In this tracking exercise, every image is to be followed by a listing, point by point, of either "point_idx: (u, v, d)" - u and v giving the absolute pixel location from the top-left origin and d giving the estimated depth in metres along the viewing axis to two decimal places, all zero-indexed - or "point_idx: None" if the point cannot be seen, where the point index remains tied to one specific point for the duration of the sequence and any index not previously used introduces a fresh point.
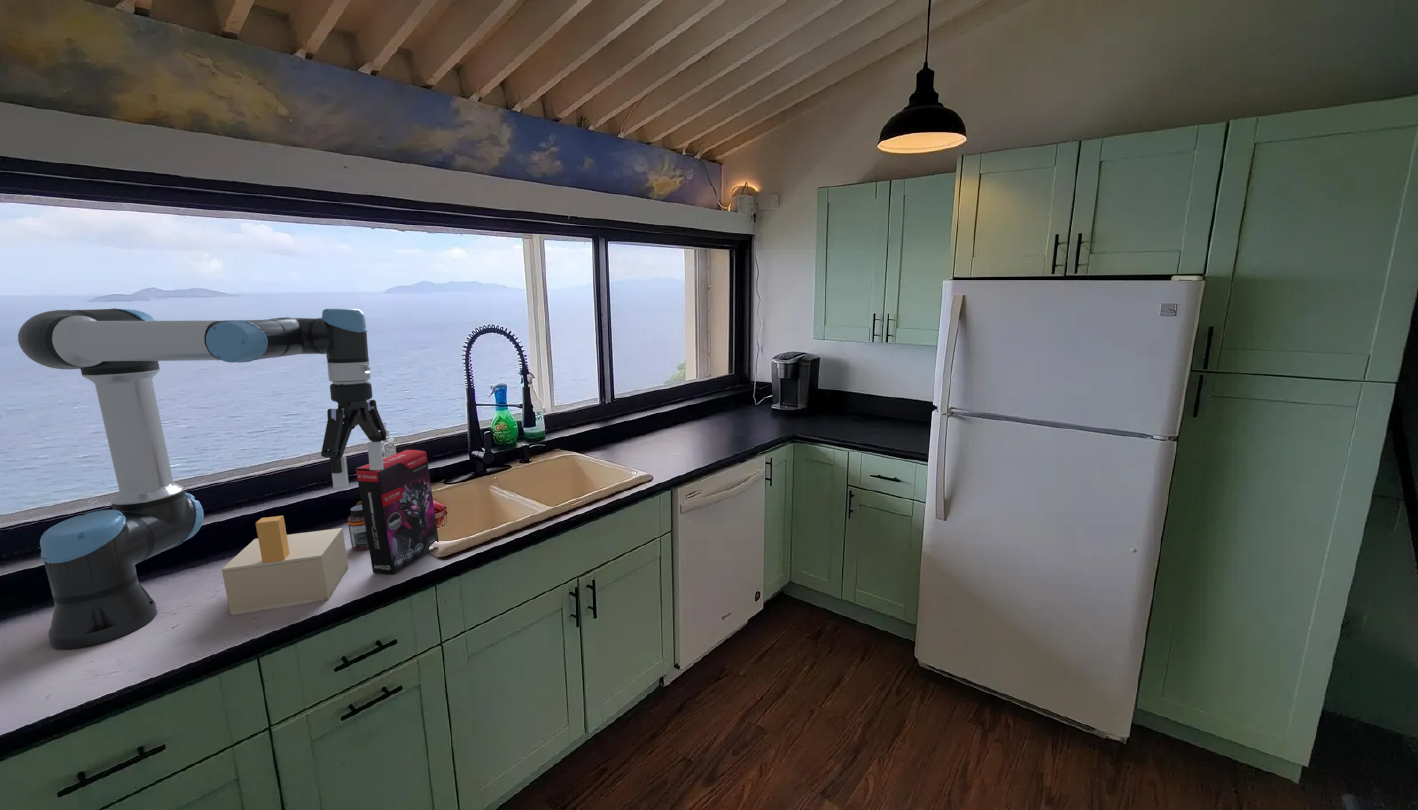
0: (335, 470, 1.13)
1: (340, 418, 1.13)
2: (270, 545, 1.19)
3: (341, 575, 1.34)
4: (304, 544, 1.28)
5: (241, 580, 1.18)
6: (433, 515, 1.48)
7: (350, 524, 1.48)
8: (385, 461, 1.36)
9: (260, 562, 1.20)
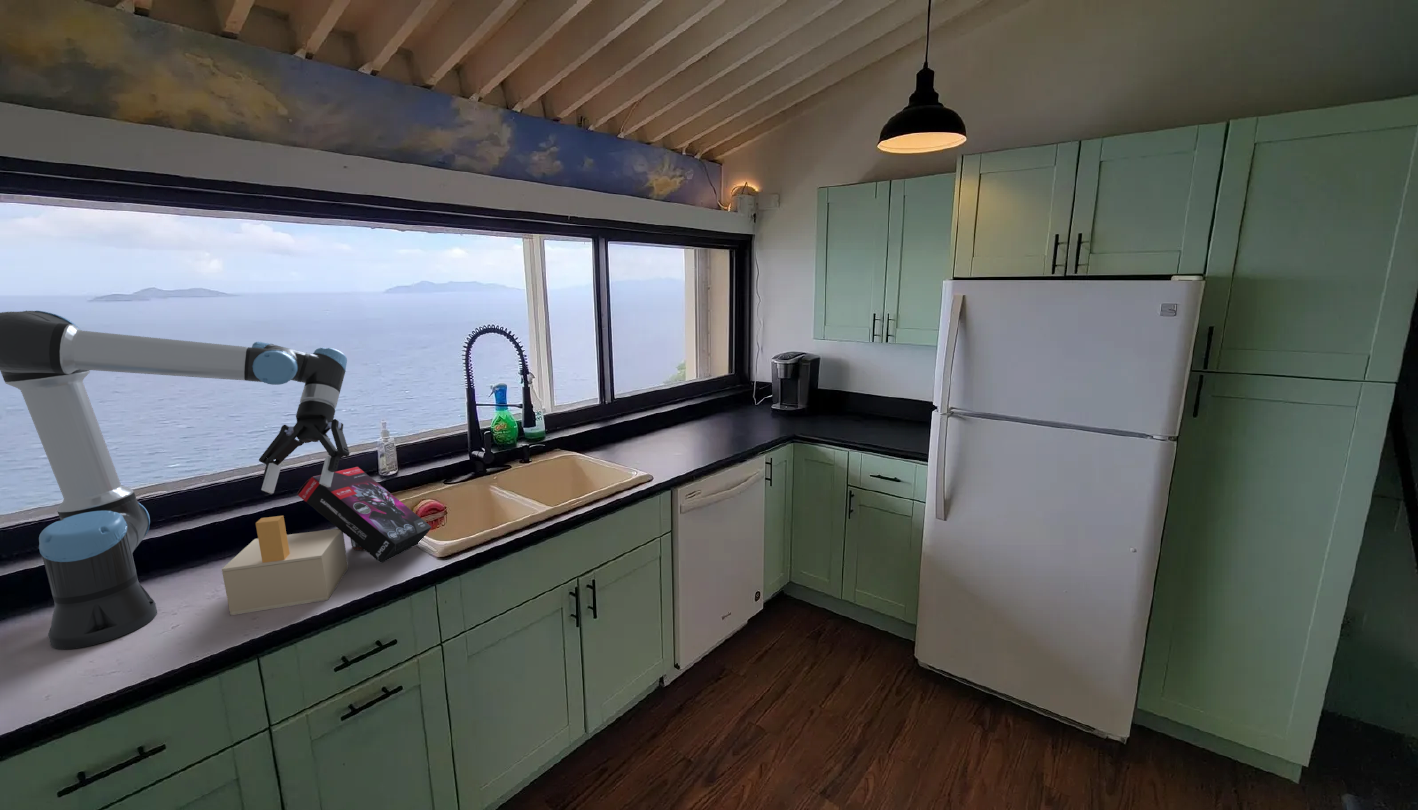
0: (335, 468, 1.29)
1: None
2: (270, 545, 1.19)
3: (341, 575, 1.34)
4: (304, 544, 1.28)
5: (241, 580, 1.18)
6: (405, 507, 1.51)
7: None
8: None
9: (260, 562, 1.20)
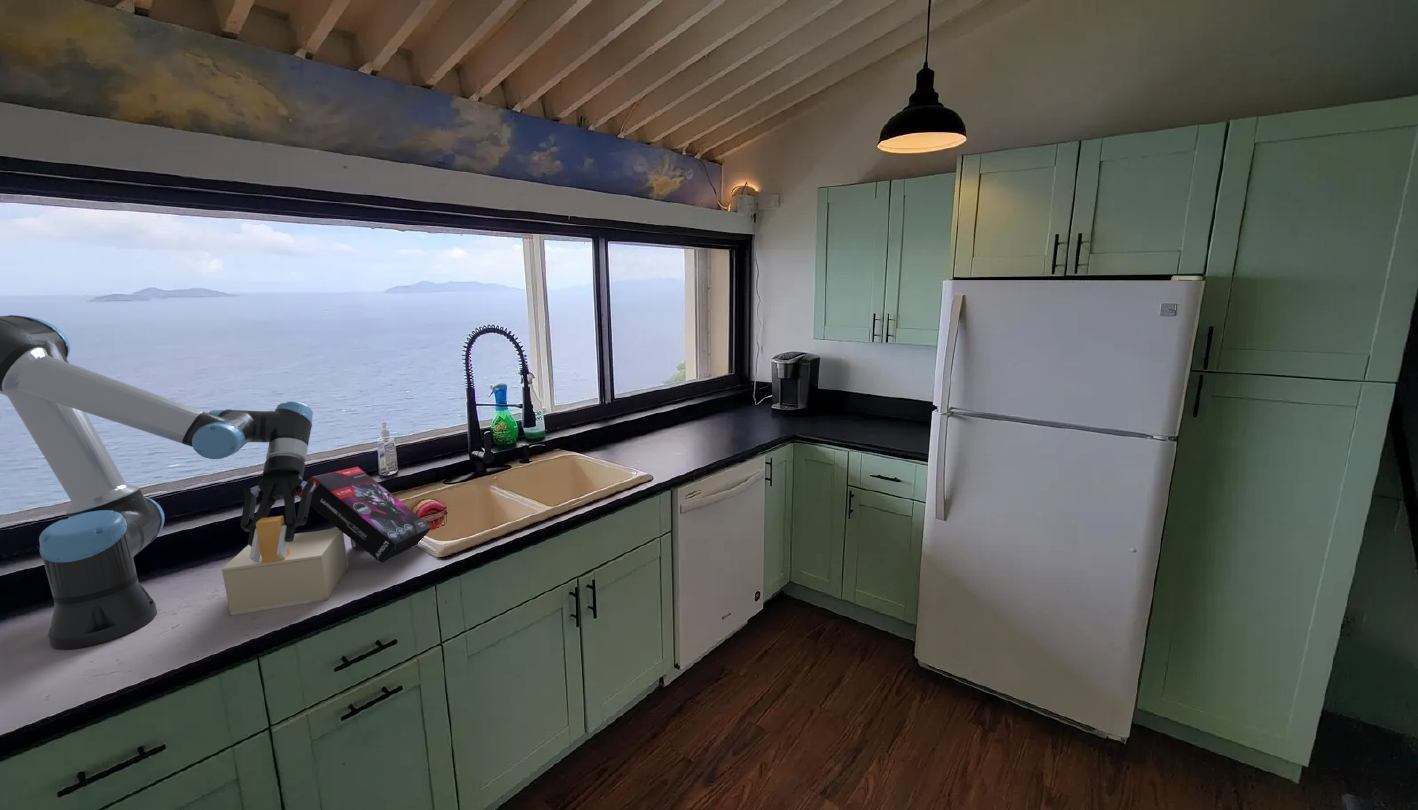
0: (292, 537, 1.21)
1: None
2: (270, 545, 1.19)
3: (341, 575, 1.34)
4: (304, 544, 1.28)
5: (241, 580, 1.18)
6: (405, 507, 1.51)
7: None
8: None
9: (260, 562, 1.20)
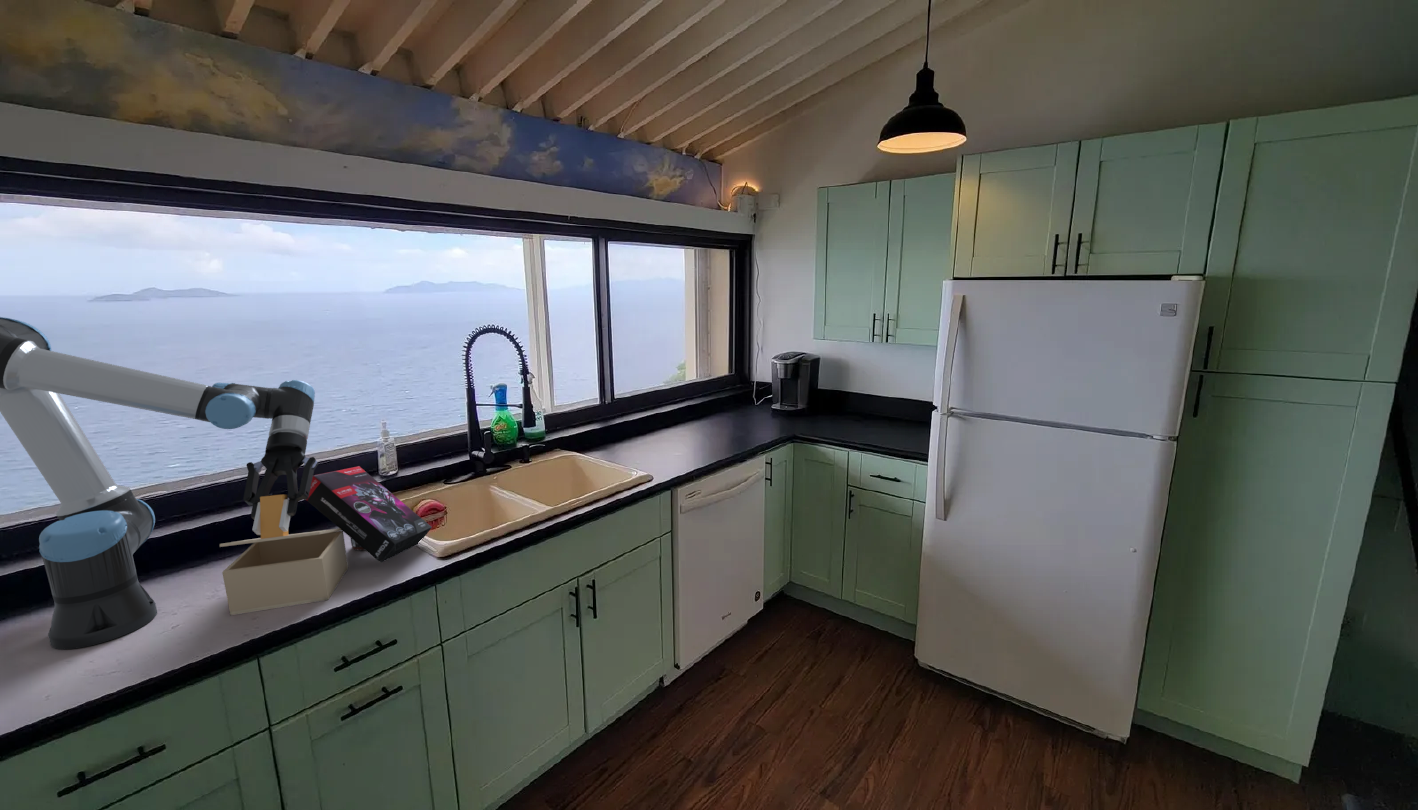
0: (294, 511, 1.23)
1: None
2: (271, 520, 1.21)
3: (341, 575, 1.34)
4: None
5: (241, 580, 1.18)
6: (406, 506, 1.51)
7: None
8: None
9: (258, 539, 1.20)
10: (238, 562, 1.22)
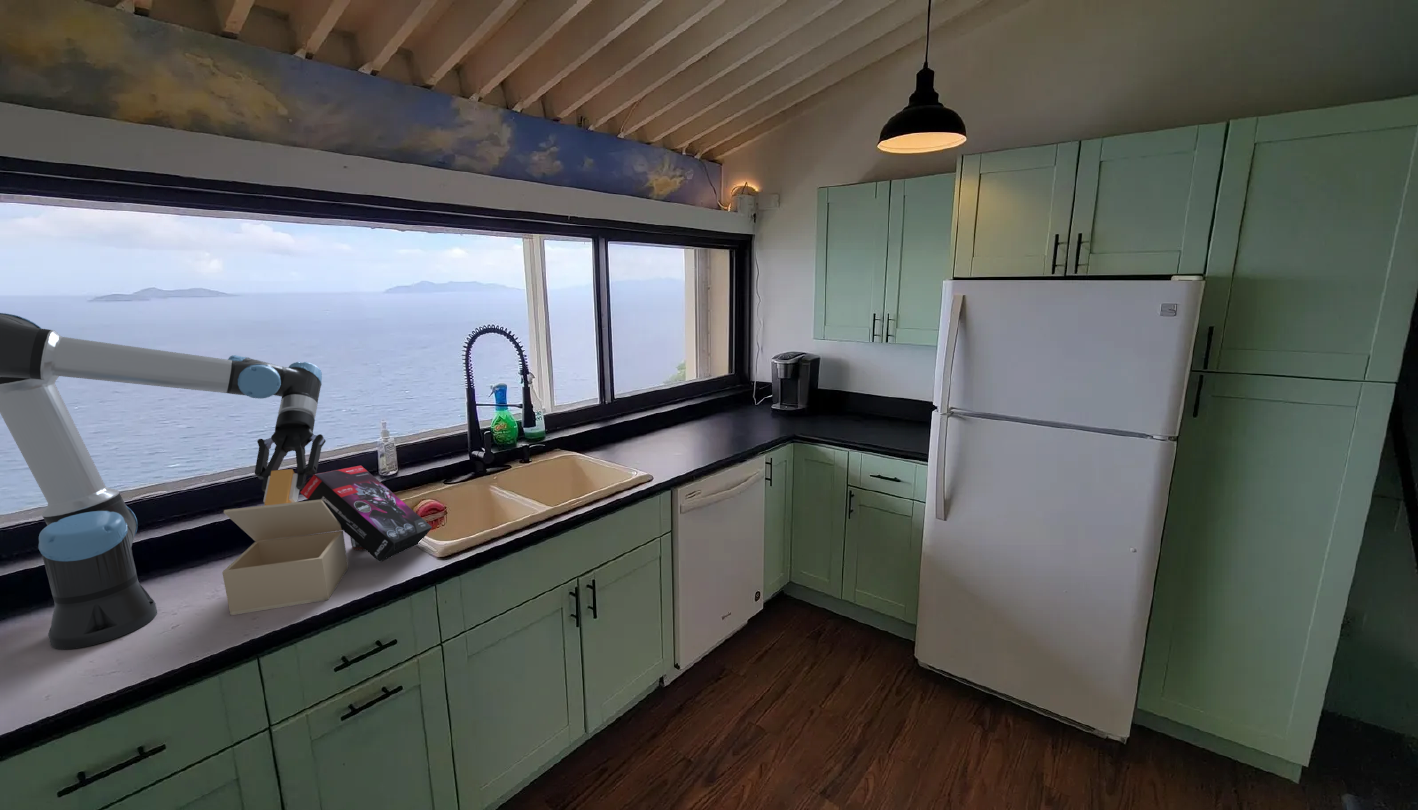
0: (303, 485, 1.29)
1: None
2: (277, 490, 1.25)
3: (341, 575, 1.34)
4: None
5: (241, 580, 1.18)
6: (406, 506, 1.51)
7: None
8: None
9: None
10: (238, 562, 1.22)
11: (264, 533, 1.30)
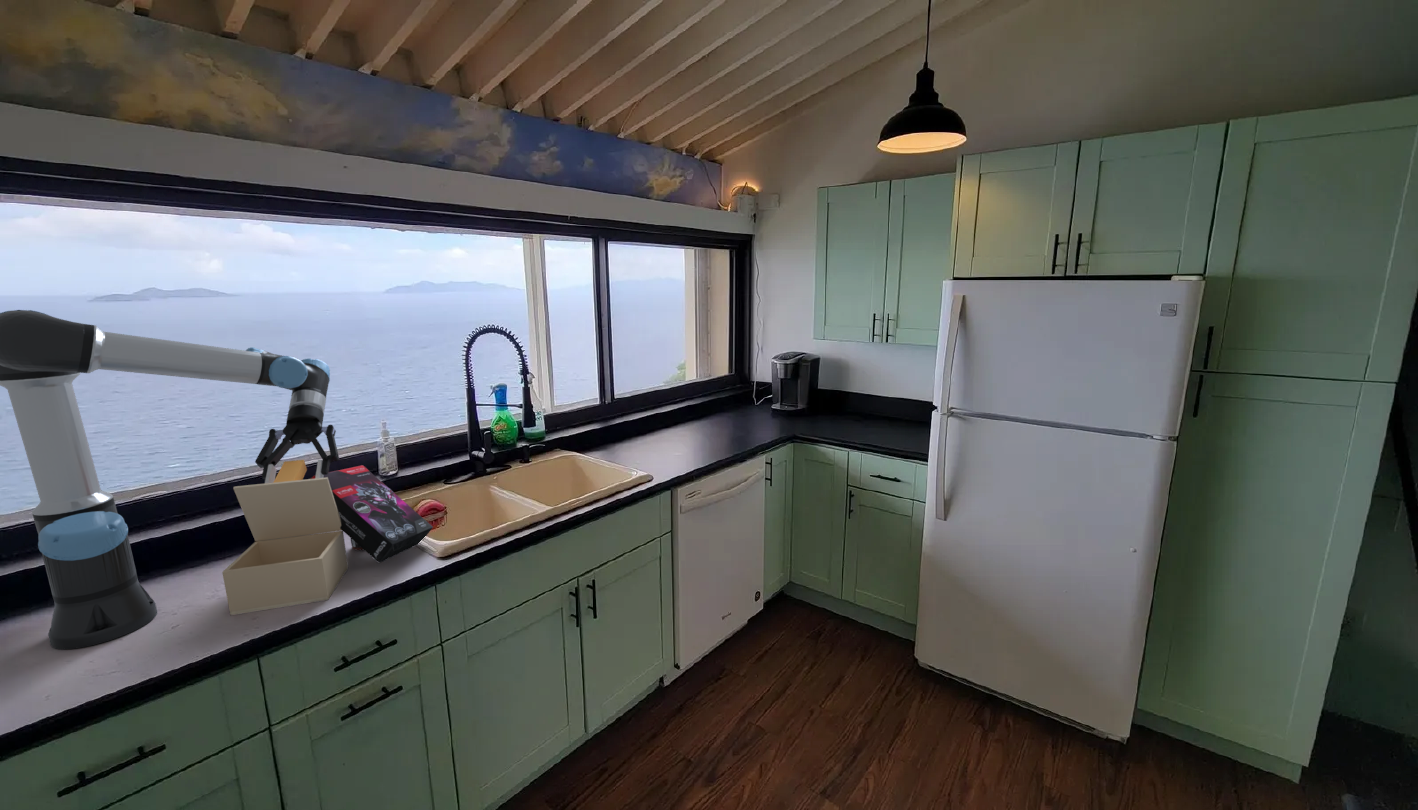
0: (327, 471, 1.37)
1: None
2: (287, 474, 1.30)
3: (341, 575, 1.34)
4: None
5: (241, 580, 1.18)
6: (407, 506, 1.51)
7: None
8: None
9: None
10: (238, 562, 1.22)
11: (266, 528, 1.31)
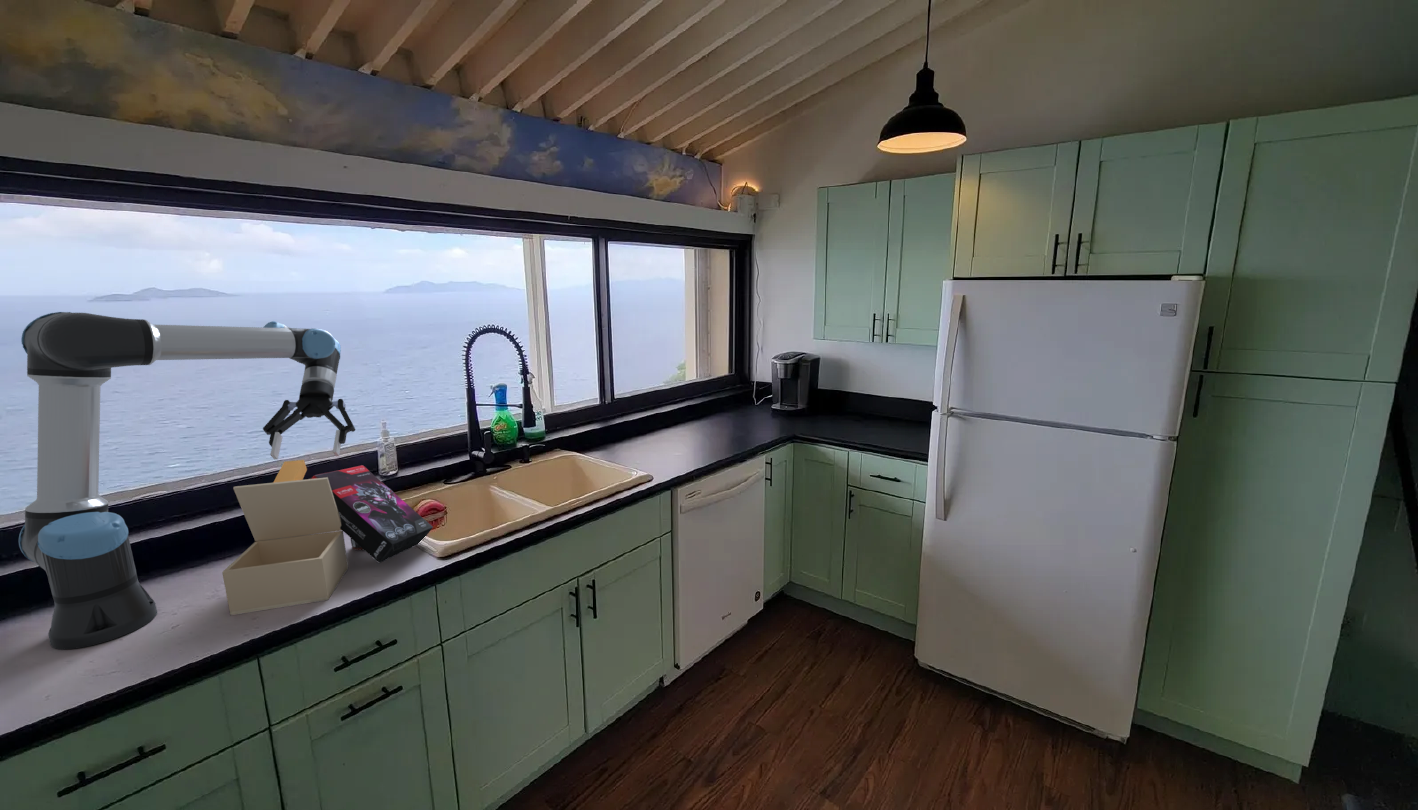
0: (344, 440, 1.48)
1: None
2: (287, 474, 1.30)
3: (341, 575, 1.34)
4: None
5: (241, 580, 1.18)
6: (407, 506, 1.51)
7: None
8: None
9: None
10: (238, 562, 1.22)
11: (266, 528, 1.31)
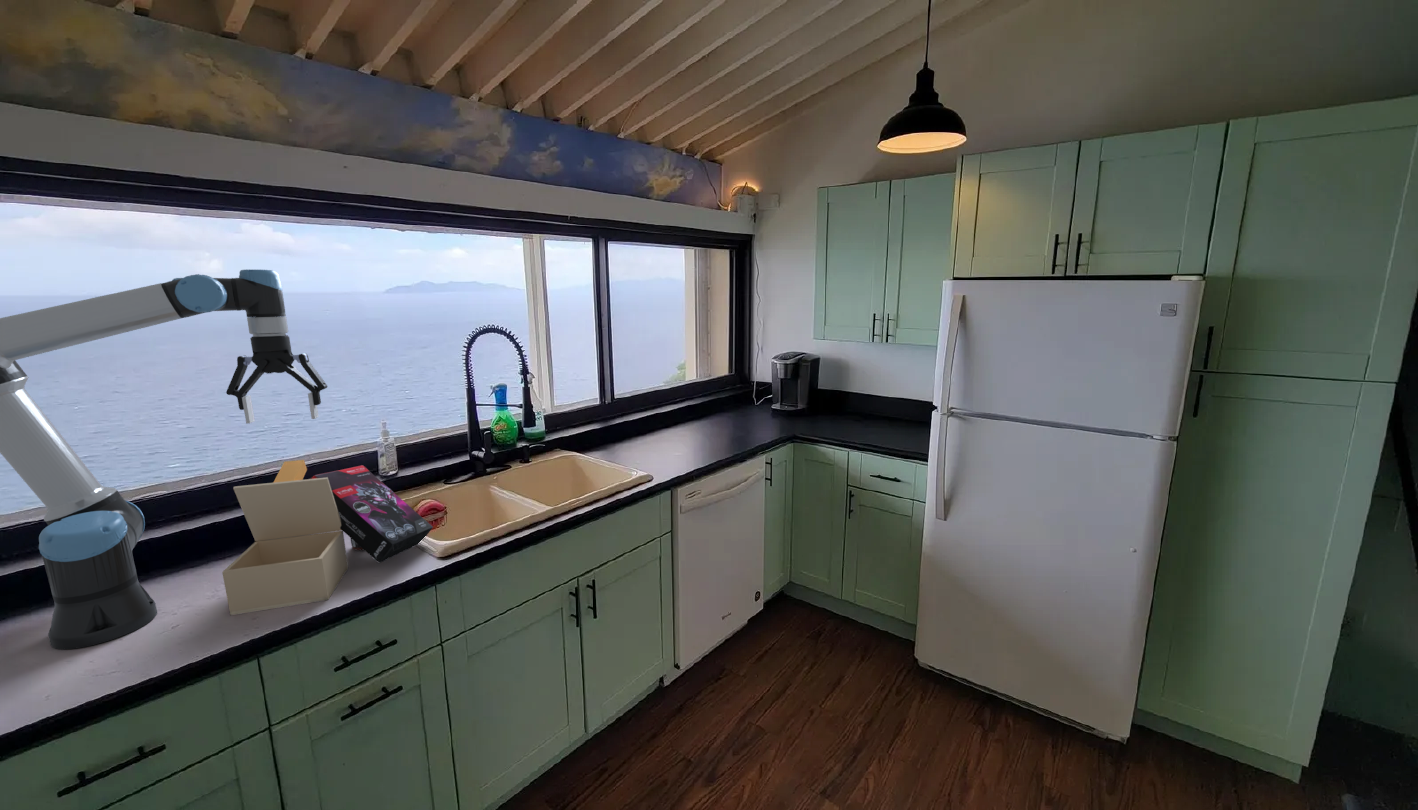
0: (319, 401, 1.41)
1: None
2: (287, 474, 1.30)
3: (341, 575, 1.34)
4: None
5: (241, 580, 1.18)
6: (407, 506, 1.51)
7: None
8: None
9: None
10: (238, 562, 1.22)
11: (266, 528, 1.31)
